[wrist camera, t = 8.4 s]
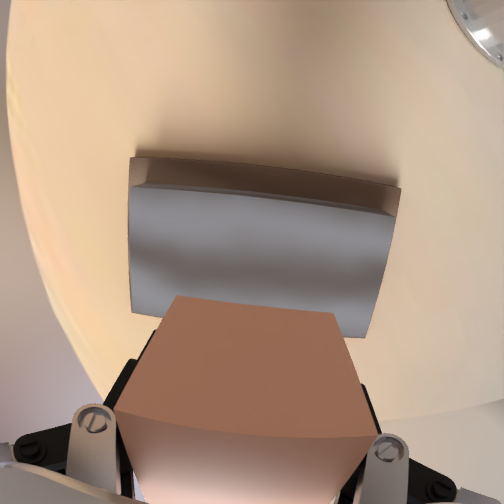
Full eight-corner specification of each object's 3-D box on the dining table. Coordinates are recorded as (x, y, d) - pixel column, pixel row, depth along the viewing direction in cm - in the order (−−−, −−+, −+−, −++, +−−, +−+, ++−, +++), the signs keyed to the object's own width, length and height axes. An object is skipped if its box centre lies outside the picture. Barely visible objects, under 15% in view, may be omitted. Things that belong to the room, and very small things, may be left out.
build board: (134, 157, 23) (113, 158, 19) (396, 187, 23) (418, 193, 19) (135, 307, 28) (119, 328, 24) (362, 332, 27) (374, 356, 24)
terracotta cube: (176, 295, 10) (113, 408, 5) (333, 313, 10) (378, 434, 5) (179, 402, 12) (148, 506, 7) (302, 416, 12) (313, 522, 7)
